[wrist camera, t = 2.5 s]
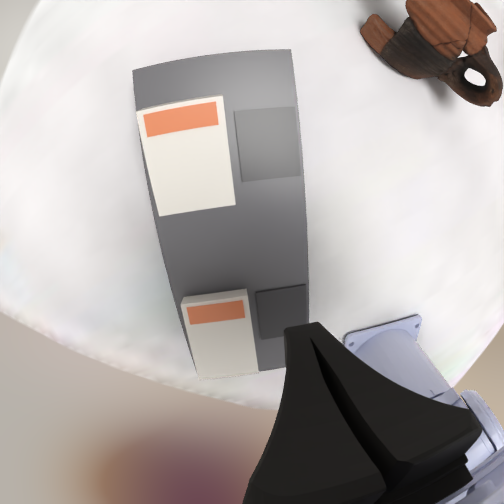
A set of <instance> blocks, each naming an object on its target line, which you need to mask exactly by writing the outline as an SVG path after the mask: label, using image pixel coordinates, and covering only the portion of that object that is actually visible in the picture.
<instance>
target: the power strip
mask: <svg viewBox="0 0 504 504" xmlns="http://www.w3.org/2000/svg"><path fill="white" fill-rule="evenodd" d="M132 72H133V84H134V94H135V103H136V112H137V111H139V110H141V109H142V108H147V107H151V106H155V105H160V104H165V103H170V102H175V101H180V100H186V99H192V98H198V97H204V96H211V95H219V94H222V95H223V102H224V110H225V119H226V128H227V136H228V145H229V153H230V162H231V170H232V178H233V187H234V195H235V203H236V205H231V206H224V207H217V208H210V209H203V210H197V211H190V212H184V213H178V214H172V215H166V216H160V217H159V213H158V209H157V205H156V201H155V198H154V194H153V189H152V185H151V181H150V177H149V173H148V168H147V164H146V159H145V155H144V150H143V145H142V141H141V136H140V142H141V148H142V155H143V161H144V167H145V173H146V178H147V184H148V189H149V195H150V200H151V205H152V210H153V214H154V219H155V224H156V228H157V233H158V237H159V242H160V246H161V250H162V254H163V259H164V263H165V267H166V271H167V274H168V278H169V282H170V286H171V290H172V293H173V297H174V301H175V304H176V308H177V311H178V314H179V318H180V321H181V325H182V328H183V331H184V334H185V338H186V341H187V344H188V347H189V350H190V353H191V356H192V359H193V355H192V351H191V347H190V343H189V339H188V335H187V331H186V327H185V322H184V318H183V313H182V309H181V302H182V300H183V297H187V296H195V295H203V294H210V293H218V292H225V291H233V290H240V289H247V294H248V301H249V308H250V315H251V322H252V329H253V336H254V343H255V350H256V356H257V363H258V370H259V371H266V370H272V369H278V368H284V367H286V365H285V349H284V331H283V330H284V329H285V328H286V327H292V326H298V325H303V324H309V280H308V243H307V219H306V200H305V184H304V169H303V156H302V144H301V133H300V122H299V112H298V103H297V94H296V85H295V77H294V69H293V62H292V54H291V49H281V50H255V51H241V52H230V53H221V54H213V55H205V56H198V57H192V58H186V59H181V60H175V61H170V62H165V63H161V64H156V65H152V66H148V67H144V68H140V69H136V70H132ZM138 127H139V126H138ZM139 135H140V131H139ZM193 362H194V359H193ZM194 365H195V363H194ZM195 368H196V367H195ZM196 371H197V370H196Z"/></svg>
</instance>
